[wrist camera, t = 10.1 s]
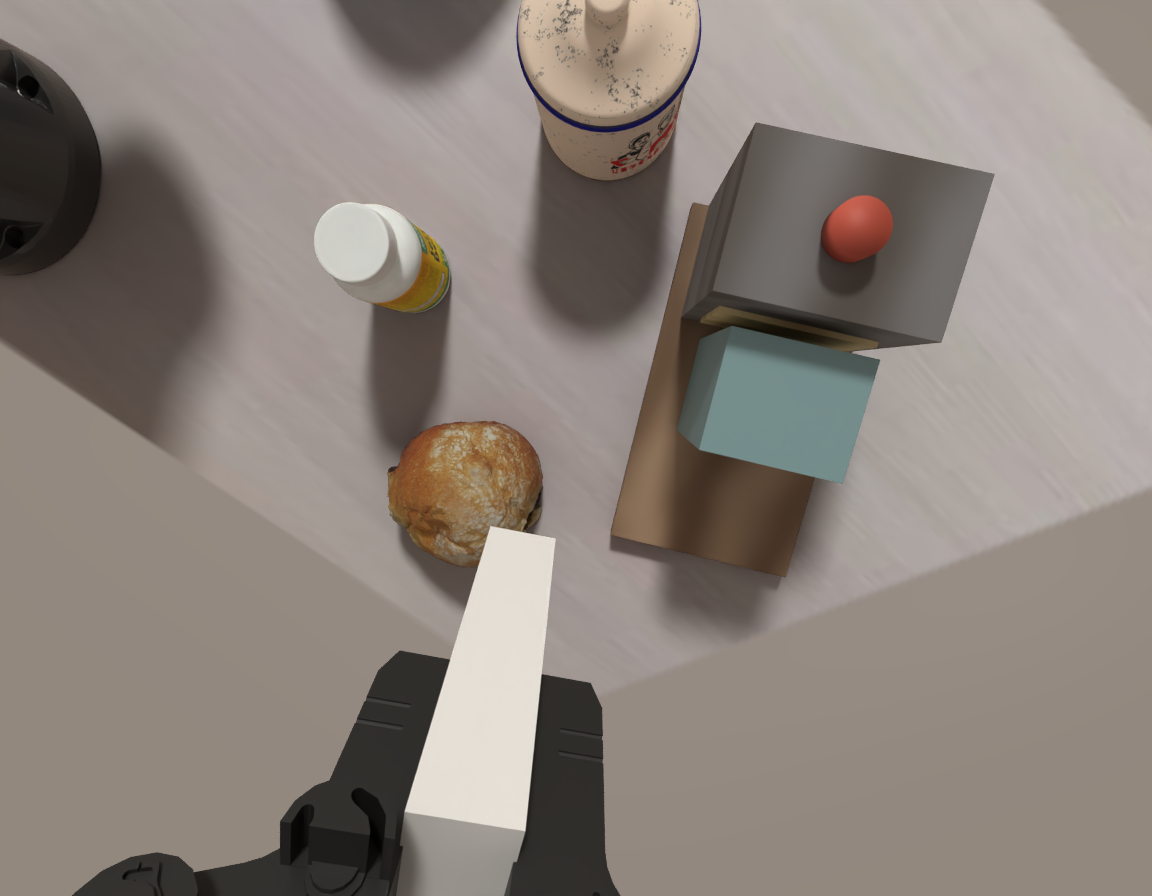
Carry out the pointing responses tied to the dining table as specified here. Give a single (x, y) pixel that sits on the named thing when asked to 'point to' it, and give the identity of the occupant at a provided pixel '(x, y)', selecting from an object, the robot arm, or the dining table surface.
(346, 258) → the supplement bottle
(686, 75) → the teacup with lid
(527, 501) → the bread roll
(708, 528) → the switch base
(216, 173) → the dining table surface
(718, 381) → the teal rectangular block
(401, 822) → the robot arm
